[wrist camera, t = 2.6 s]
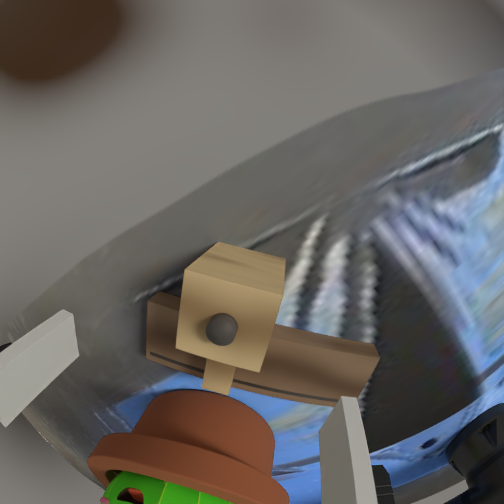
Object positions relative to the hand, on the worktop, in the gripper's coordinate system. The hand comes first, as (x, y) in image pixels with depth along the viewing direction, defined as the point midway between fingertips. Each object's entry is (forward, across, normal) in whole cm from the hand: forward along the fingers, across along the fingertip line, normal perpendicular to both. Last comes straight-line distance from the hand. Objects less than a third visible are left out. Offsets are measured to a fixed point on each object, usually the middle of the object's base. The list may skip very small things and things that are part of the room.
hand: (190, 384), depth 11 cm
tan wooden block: (+14, 0, +4) cm, 14 cm away
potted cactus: (+14, 0, +23) cm, 27 cm away
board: (+14, -3, +7) cm, 16 cm away
